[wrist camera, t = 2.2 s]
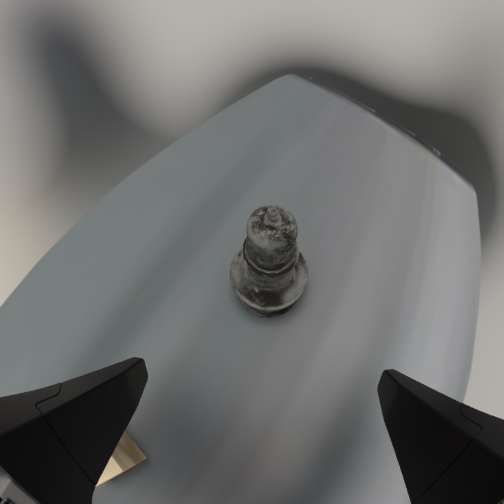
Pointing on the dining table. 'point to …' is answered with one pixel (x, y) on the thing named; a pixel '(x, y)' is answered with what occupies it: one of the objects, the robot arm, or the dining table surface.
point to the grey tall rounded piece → (269, 263)
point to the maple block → (122, 459)
